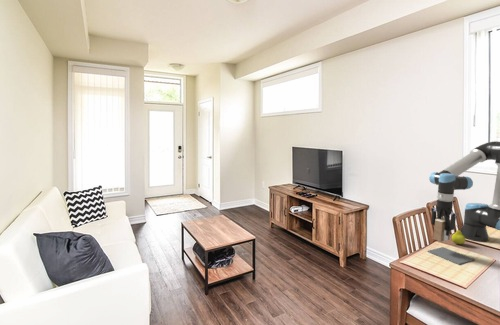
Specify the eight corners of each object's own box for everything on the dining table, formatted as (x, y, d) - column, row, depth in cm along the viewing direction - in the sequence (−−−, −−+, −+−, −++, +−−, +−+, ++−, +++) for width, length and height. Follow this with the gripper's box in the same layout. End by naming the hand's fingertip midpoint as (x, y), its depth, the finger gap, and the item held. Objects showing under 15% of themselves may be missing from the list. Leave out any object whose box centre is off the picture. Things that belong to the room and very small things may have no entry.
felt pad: (442, 247, 166) (442, 246, 166) (474, 260, 150) (474, 259, 150) (427, 251, 160) (427, 250, 160) (458, 264, 145) (458, 263, 145)
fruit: (466, 244, 170) (468, 226, 169) (462, 247, 167) (464, 228, 165) (454, 240, 176) (455, 223, 175) (449, 243, 173) (450, 225, 171)
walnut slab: (442, 237, 163) (444, 217, 161) (449, 239, 159) (451, 219, 158) (433, 239, 160) (435, 219, 158) (440, 241, 156) (442, 221, 155)
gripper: (426, 197, 163) (422, 234, 166) (457, 204, 147) (452, 245, 150) (434, 196, 166) (430, 233, 169) (465, 203, 150) (461, 243, 153)
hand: (441, 238), depth 159 cm, fingers closed on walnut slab, 4 cm apart
